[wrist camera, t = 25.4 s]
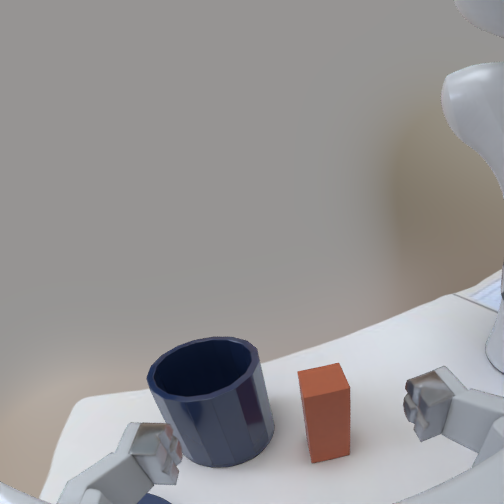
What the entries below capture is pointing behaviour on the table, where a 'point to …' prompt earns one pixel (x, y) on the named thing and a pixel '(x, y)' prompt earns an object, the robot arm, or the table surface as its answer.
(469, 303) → the table surface
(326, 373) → the block
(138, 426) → the robot arm
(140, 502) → the lid
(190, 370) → the canister
